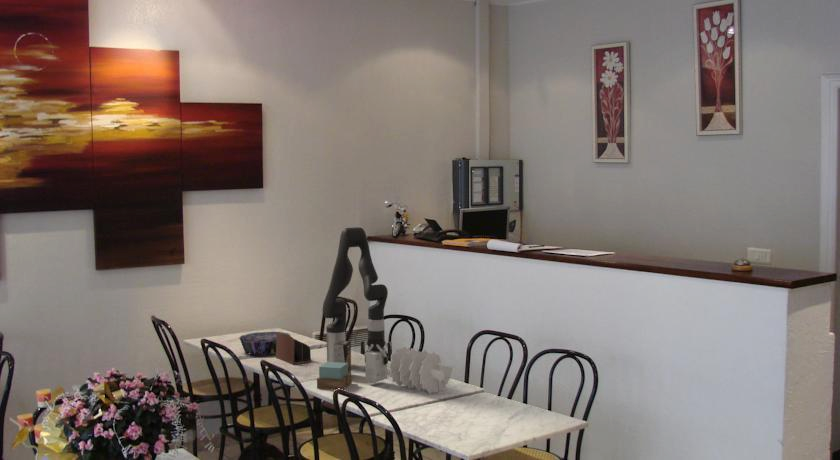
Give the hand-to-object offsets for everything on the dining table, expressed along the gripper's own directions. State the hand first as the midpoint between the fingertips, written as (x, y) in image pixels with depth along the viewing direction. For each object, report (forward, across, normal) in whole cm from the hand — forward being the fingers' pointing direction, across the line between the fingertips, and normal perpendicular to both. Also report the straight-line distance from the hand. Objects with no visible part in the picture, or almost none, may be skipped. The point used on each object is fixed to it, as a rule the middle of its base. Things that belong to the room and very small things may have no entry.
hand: (376, 364), depth 385 cm
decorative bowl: (+11, +78, -52) cm, 95 cm away
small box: (+7, 0, 0) cm, 7 cm away
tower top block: (+5, +18, +7) cm, 20 cm away
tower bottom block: (+10, +18, +7) cm, 21 cm away
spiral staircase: (+9, -21, +4) cm, 24 cm away
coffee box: (+10, +20, -10) cm, 24 cm away
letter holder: (+10, +56, -36) cm, 67 cm away
